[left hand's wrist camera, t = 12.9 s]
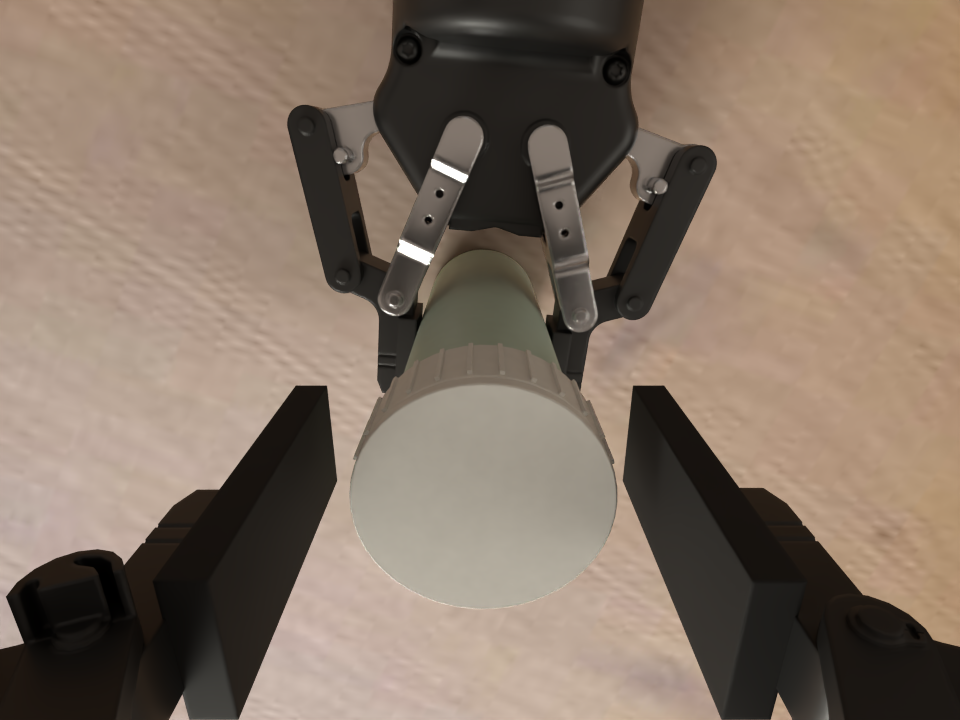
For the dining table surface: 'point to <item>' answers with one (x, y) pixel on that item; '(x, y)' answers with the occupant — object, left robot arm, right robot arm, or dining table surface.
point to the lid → (483, 479)
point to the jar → (482, 308)
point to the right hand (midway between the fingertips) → (477, 405)
